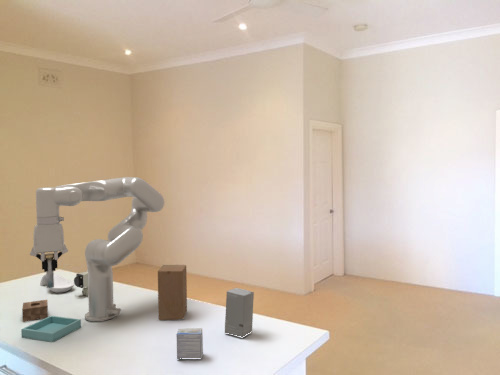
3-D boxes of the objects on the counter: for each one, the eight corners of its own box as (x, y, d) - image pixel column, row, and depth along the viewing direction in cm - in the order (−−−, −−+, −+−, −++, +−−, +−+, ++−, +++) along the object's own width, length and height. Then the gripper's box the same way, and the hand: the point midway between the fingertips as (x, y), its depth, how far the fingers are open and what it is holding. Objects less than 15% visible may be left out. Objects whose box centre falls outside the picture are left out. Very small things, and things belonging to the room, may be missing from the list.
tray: (80, 327, 156) (80, 319, 156) (52, 342, 143) (52, 333, 143) (51, 323, 160) (51, 315, 160) (21, 337, 147) (21, 329, 147)
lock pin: (58, 286, 152) (56, 253, 151) (50, 288, 149) (49, 255, 148) (50, 285, 153) (49, 252, 152) (42, 287, 150) (41, 254, 149)
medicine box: (203, 353, 133) (202, 327, 133) (201, 360, 129) (201, 333, 128) (178, 354, 133) (178, 328, 132) (176, 360, 128) (176, 333, 128)
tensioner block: (47, 311, 174) (47, 299, 174) (48, 317, 166) (47, 305, 166) (23, 314, 170) (23, 302, 170) (22, 321, 162) (22, 309, 162)
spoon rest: (79, 290, 203) (78, 276, 203) (56, 296, 194) (55, 281, 194) (55, 282, 218) (54, 269, 217) (32, 288, 208) (31, 274, 208)
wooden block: (183, 320, 162) (182, 270, 161) (158, 320, 162) (157, 270, 161) (187, 311, 172) (186, 264, 171) (163, 311, 172) (162, 264, 171)
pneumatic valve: (101, 292, 199) (101, 268, 198) (79, 299, 190) (78, 273, 189) (95, 290, 202) (94, 266, 202) (73, 296, 193) (72, 271, 192)
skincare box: (224, 334, 148) (223, 291, 147) (235, 327, 154) (235, 286, 153) (243, 339, 144) (243, 295, 143) (254, 332, 149) (254, 290, 149)
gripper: (71, 218, 157) (73, 266, 157) (23, 221, 149) (25, 271, 150) (72, 220, 150) (74, 270, 151) (22, 223, 143) (24, 275, 144)
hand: (49, 270), depth 151 cm, fingers closed on lock pin, 2 cm apart
